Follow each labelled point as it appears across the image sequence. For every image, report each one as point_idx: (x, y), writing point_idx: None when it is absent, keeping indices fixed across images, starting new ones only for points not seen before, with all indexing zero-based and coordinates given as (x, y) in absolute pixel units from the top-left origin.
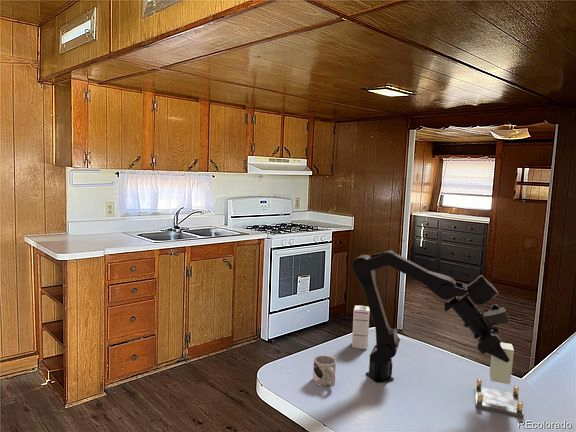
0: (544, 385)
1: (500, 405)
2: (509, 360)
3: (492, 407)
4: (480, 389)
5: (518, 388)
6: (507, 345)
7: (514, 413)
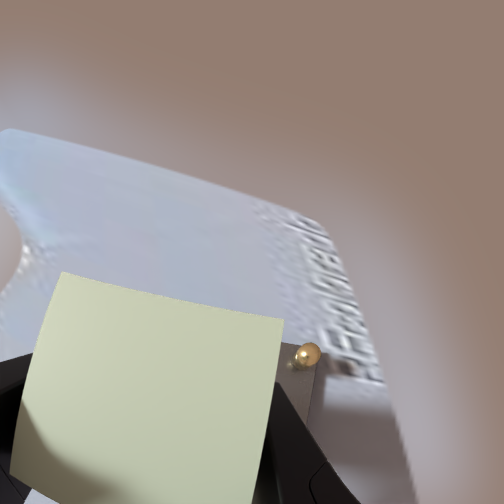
0: (70, 203)
1: None
2: (277, 383)
3: None
4: None
5: None
6: (112, 349)
7: (312, 380)
